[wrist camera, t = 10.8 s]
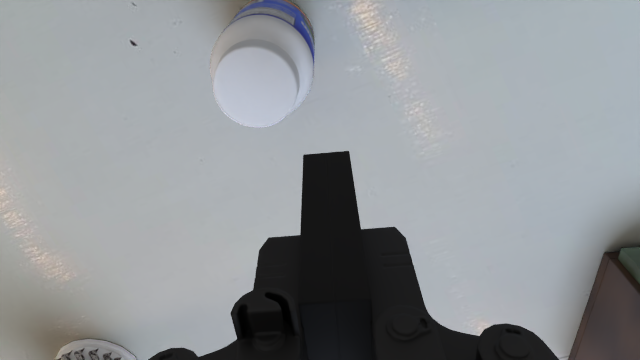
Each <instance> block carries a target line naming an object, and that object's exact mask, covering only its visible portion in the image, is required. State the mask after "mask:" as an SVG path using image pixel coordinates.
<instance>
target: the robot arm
mask: <svg viewBox="0 0 640 360" xmlns="http://www.w3.org/2000/svg"><path fill="white" fill-rule="evenodd" d="M231 316H232V320H233V324H234V328H235V332H236V335H237V340H236V341H234V342H233V343H231V344H230V345H228V346H227V347H224V348H222V349H220V350H218V351H215V352H212V353H209V354H206V355H204V356H201V357H198V356H197V355H196V354H195V353H194V352H193V351H191V350H188V349H185V348H171V349H168V350H165V351H162V352H159V353H157V354H156V355H155V356H153V357H152V358H150V359H149V360H559V359H558V358H557V357H556V356H555V354H554V353H553V352H552V351H551V350H550V349H549V347H548V346H547V345H546V344H545V343H544V342H543V341H542V340H541V339H540V338H539V337H538V336H537V335H535V334H534V333H533V332H531V331H529V330H527V329H525V328H523V327H521V326H517V325H511V324H497V325H493V326H491V327H489V328H487V329H485V330H484V331H483V332H482V334H481V335H480V336H475V335H470V334H465V333H460V332H457V331H453V330H450V329H448V328H446V327H444V326H442V325H440V324H439V323H438V322H436V321H435V320H434V319H433V318H432V317H431V316H430V315H429V313H428V312H427V310H426V307H425V305H424V301H423V298H422V294H421V291H420V287H419V284H418V280H417V277H416V273H415V270H414V266H413V263H412V259H411V255H410V253H409V248H408V245H407V241H406V238H405V237H404V236H403V235H402V234H401V233H400V232H399V231H398V230H397V229H396V228H395V227H387V228H374V229H361V227H360V221H359V214H358V207H357V201H356V194H355V188H354V181H353V174H352V168H351V161H350V155H349V151H344V152H332V153H320V154H307V155H304V156H303V183H302V210H301V235H298V236H285V237H272V238H268V239H267V241H266V242H265V243H264V245H263V246H262V247H261V249H260V250H259V256H258V263H257V269H256V278H255V282H254V288H253V291H251V292H249V293H247V294H245V295H243V296H242V297H241V298H240V299H239V300H238V301H237V302H236V303H235V305H234V307H233V309H232V311H231Z"/></svg>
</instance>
